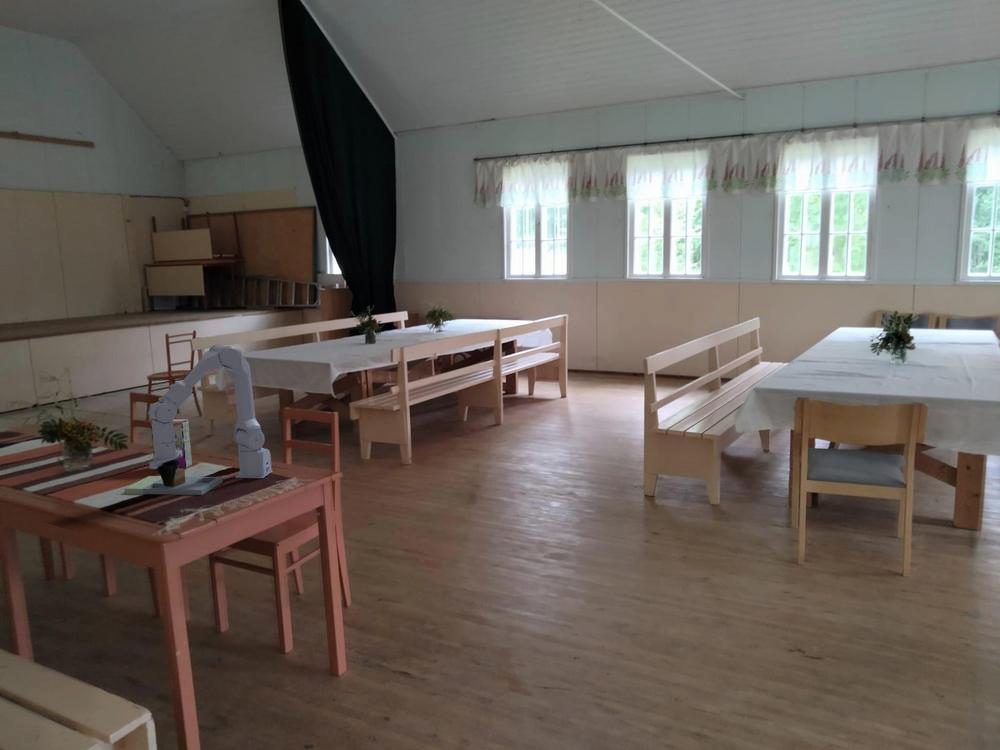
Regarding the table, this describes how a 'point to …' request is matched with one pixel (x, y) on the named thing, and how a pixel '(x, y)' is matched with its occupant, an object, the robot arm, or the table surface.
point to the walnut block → (178, 477)
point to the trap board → (189, 488)
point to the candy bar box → (180, 441)
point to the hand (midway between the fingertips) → (168, 485)
